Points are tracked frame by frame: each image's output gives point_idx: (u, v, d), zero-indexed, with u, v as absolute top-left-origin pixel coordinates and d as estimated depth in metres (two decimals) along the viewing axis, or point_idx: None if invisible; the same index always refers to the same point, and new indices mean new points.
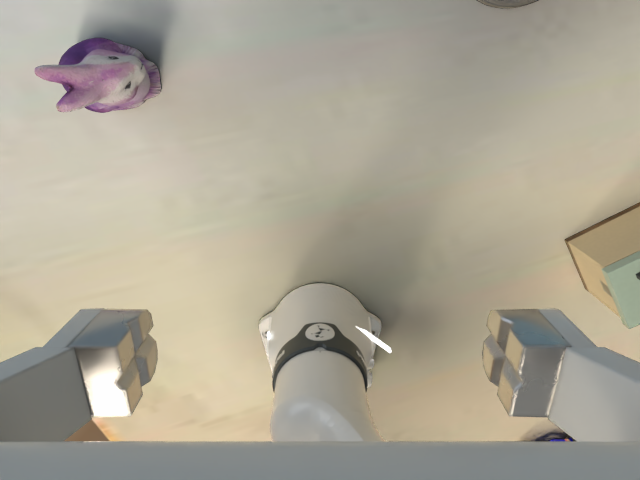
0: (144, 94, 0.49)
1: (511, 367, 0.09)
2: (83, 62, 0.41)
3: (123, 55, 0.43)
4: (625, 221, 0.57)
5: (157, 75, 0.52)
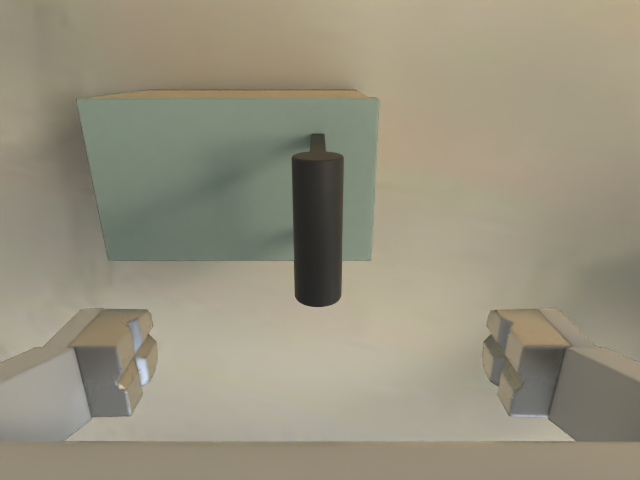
0: None
1: (511, 367, 0.09)
2: None
3: None
4: None
5: None
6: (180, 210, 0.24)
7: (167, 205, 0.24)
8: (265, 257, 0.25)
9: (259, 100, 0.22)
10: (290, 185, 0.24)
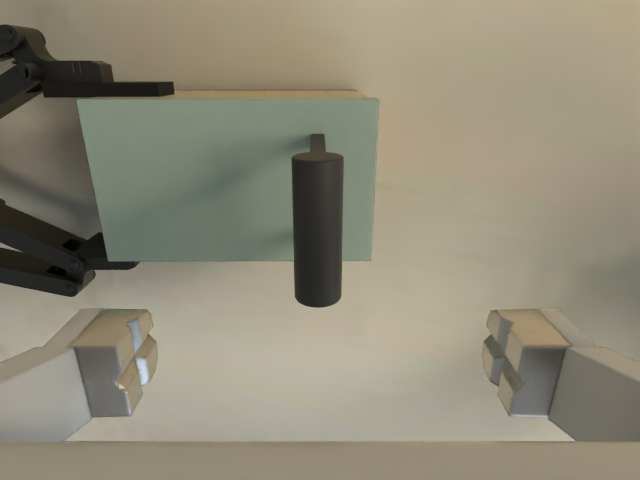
0: None
1: (511, 367, 0.09)
2: None
3: None
4: None
5: None
6: (180, 210, 0.24)
7: (167, 205, 0.24)
8: (265, 257, 0.25)
9: (259, 100, 0.22)
10: (290, 185, 0.24)
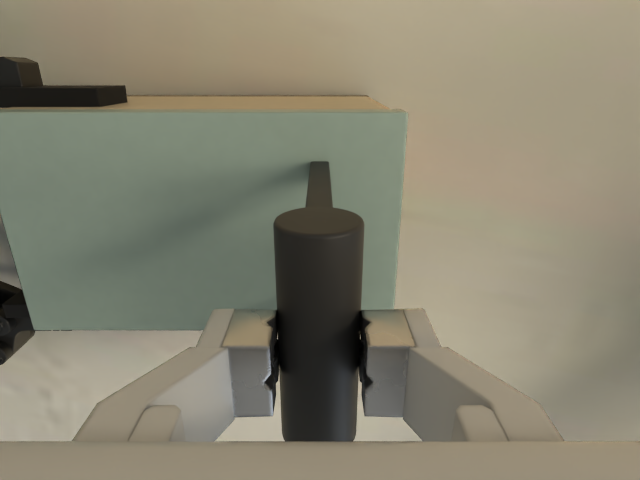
0: None
1: None
2: None
3: None
4: None
5: None
6: (128, 265, 0.18)
7: (110, 258, 0.17)
8: None
9: (235, 114, 0.15)
10: None
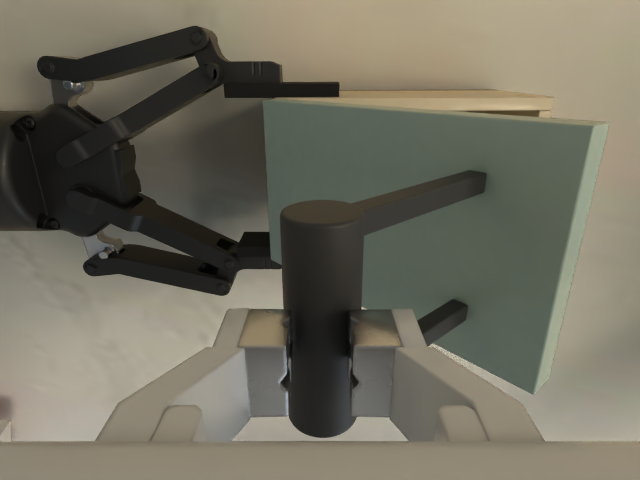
0: None
1: None
2: None
3: None
4: None
5: None
6: None
7: None
8: None
9: (408, 113, 0.16)
10: (431, 237, 0.17)
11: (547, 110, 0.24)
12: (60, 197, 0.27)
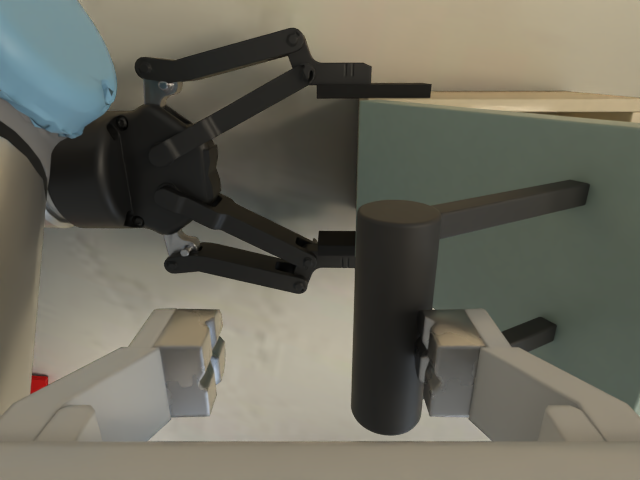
0: None
1: None
2: None
3: None
4: None
5: None
6: None
7: None
8: None
9: (506, 117, 0.15)
10: (522, 248, 0.16)
11: None
12: (147, 195, 0.27)
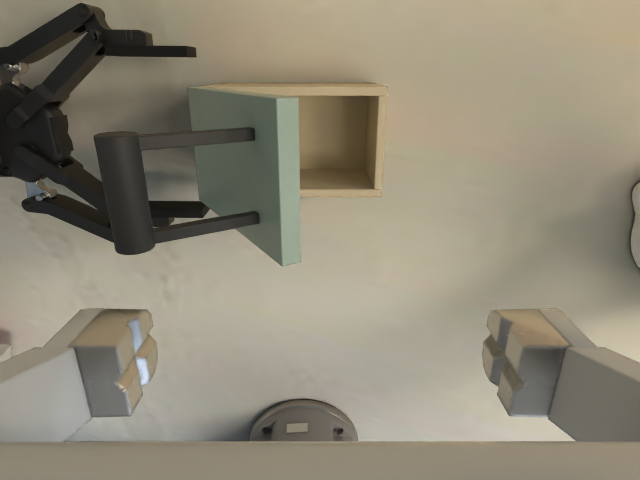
0: None
1: (511, 367, 0.09)
2: None
3: None
4: None
5: None
6: (213, 174, 0.32)
7: (210, 169, 0.32)
8: (240, 230, 0.29)
9: (230, 93, 0.26)
10: (245, 171, 0.27)
11: (384, 95, 0.35)
12: (11, 151, 0.37)
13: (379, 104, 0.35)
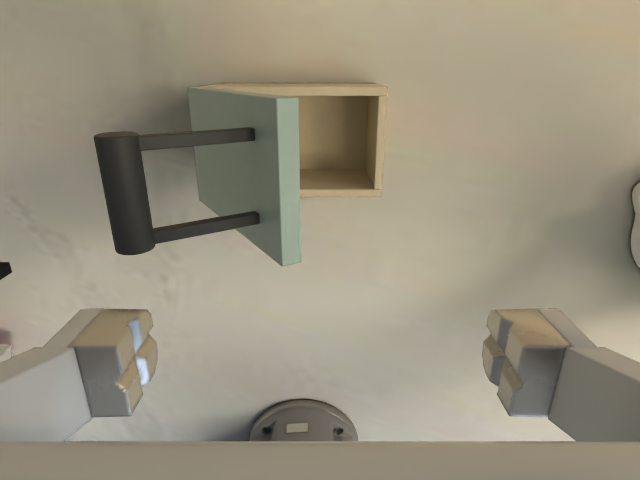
0: None
1: (511, 367, 0.09)
2: None
3: None
4: None
5: None
6: (213, 175, 0.32)
7: (210, 169, 0.32)
8: (240, 230, 0.29)
9: (230, 94, 0.26)
10: (245, 171, 0.27)
11: (384, 95, 0.35)
12: None
13: (379, 104, 0.35)
